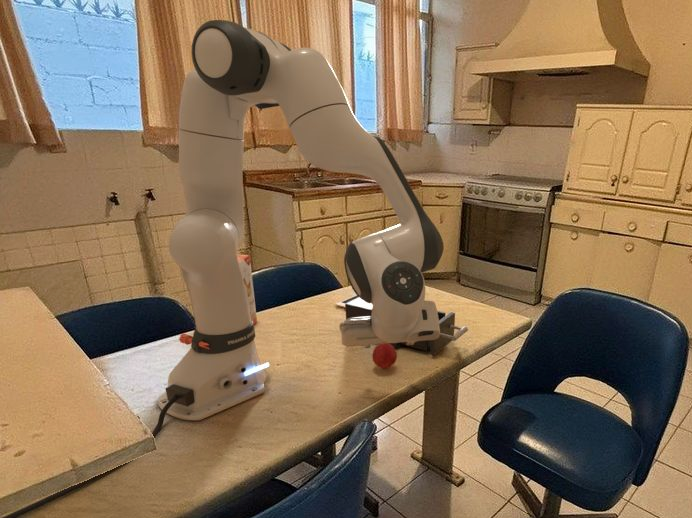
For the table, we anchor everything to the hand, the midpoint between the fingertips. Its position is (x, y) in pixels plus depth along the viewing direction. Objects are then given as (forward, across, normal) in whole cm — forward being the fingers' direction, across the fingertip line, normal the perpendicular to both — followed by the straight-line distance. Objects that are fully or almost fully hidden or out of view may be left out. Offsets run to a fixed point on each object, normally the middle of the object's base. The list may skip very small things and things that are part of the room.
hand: (388, 343), depth 100 cm
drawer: (+20, +13, +6) cm, 24 cm away
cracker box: (+33, -38, +18) cm, 54 cm away
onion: (+12, 0, -2) cm, 13 cm away
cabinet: (+27, +2, +12) cm, 30 cm away
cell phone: (+47, -2, +32) cm, 57 cm away
